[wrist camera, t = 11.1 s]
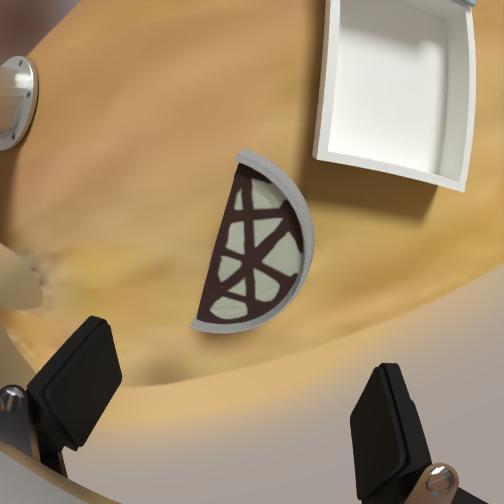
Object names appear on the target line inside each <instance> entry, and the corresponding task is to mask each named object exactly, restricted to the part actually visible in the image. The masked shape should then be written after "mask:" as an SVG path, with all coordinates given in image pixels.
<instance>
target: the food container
mask: <svg viewBox="0 0 504 504" xmlns="http://www.w3.org/2000/svg"><path fill="white" fill-rule="evenodd" d="M235 161H237V162H239V164H238V167H237V170H236V173H235V175H234V181H233V185H232V189H231V192H230V195H229V199H228V202H227V205H226V209H225V212H224V216H223V219H222V223H221V226H220V230H219V233H218V236H217V240H216V243H215V247H214V250H213V254H212V258H211V262H210V266H209V270H208V274H207V278H206V281H205V285H204V289H203V293H202V297H201V301H200V305H199V309H198V311H197V314H196V316H195V318H194V320H193V322H192V324H191V326H190V328H192V329H196V330H199V331H203V332H210V333H235V332H242V331H246V330H249V329H253V328H255V327H258V326H260V325H262V324H264V323H266V322H268V321H269V320H271V319H272V318H274V317H275V316H277V315H278V314H279V313H280V312H281V311H283V310H284V309H285V308H286V307H287V306H288V305H289V304H290V303H291V302H292V300H293V299H294V298H295V297H296V295H297V294H298V292H299V291H300V289H301V287H302V285H303V283H304V281H305V279H306V276H307V274H308V271H309V268H310V265H311V262H312V259H313V252H314V227H313V222H312V218H311V214H310V211H309V209H308V206H307V203H306V201H305V199H304V197H303V195H302V194H301V192H300V191H299V189H298V187H297V186H296V184H295V183H294V182H293V181H292V180H291V179H290V177H289V176H288V175H287V174H286V173H285V172H284V171H283V170H282V169H280V168H279V167H278V166H277V165H276V164H274V163H273V162H272V161H270V160H268V159H267V158H265V157H263V156H262V155H260V154H258V153H256V152H253V151H251V150H248V149H245V148H243V149H242V150H241V152H240V153H239V154H238V157H237V158H236V159H235Z"/></svg>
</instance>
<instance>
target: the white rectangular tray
mask: <svg viewBox="0 0 504 504" xmlns="http://www.w3.org/2000/svg"><path fill="white" fill-rule="evenodd" d="M475 98H476V59H475V41H474V30H473V20H472V13H471V6H470V5H468V4H466V3H464V2H462V1H460V0H326V3H325V21H324V37H323V50H322V63H321V75H320V86H319V96H318V106H317V115H316V124H315V133H314V142H313V150H312V156H313V157H314V158H315V159H316V160H322V161H328V162H334V163H340V164H346V165H351V166H357V167H362V168H367V169H372V170H377V171H381V172H386V173H391V174H395V175H399V176H404V177H408V178H412V179H416V180H420V181H424V182H428V183H432V184H435V185H439V186H443V187H446V188H450V189H453V190H457V191H460V192H464V190H465V185H466V180H467V174H468V168H469V161H470V155H471V147H472V138H473V129H474V116H475Z"/></svg>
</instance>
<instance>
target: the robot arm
mask: <svg viewBox="0 0 504 504" xmlns="http://www.w3.org/2000/svg"><path fill="white" fill-rule="evenodd" d="M37 94H38V78H37V72H36V68H35V66H34V64H33V62H32V61H31V60H30V59H29V58H26V57H20V56H16V57H13V58H11V59H9V60H7V61H6V62H5V63H4V64H3V65H2V66H1V67H0V150H7V149H11V148H13V147H14V146H16V145H17V144H18V143H19V142H20V141H21V139H22V138H23V137H24V135H25V133H26V131H27V130H28V127H29V125H30V123H31V120H32V117H33V114H34V111H35V106H36V102H37ZM121 381H122V373H121V369H120V365H119V361H118V358H117V353H116V349H115V345H114V341H113V336H112V331H111V327H110V325H109V324H108V323H107V321H106V320H105V319H102V318H99V317H95V316H90V317H88V319H87V320H86V321H85V322H84V323H83V324H82V325H81V326H80V327H79V328H78V329H77V330H76V331H75V332H74V333H73V334H72V335H71V336H70V338H69V339H68V340H67V341H66V342H65V343H64V344H63V345H62V346H61V347H60V348H59V350H58V351H57V352H56V353H55V354H54V355H53V356H52V357H51V358H50V360H49V361H48V362H47V363H46V364H45V365H44V366H43V368H42V369H41V370H40V371H39V372H38V373H37V374H36V376H35V377H34V378H33V379H32V380H31V381H30V383H29V384H28V385H27V390H26V391H25V390H24V389H23V388H22V387H21V386H18V385H7V386H5V387H3V388H1V389H0V504H121V503H118V502H116V501H113V500H111V499H109V498H106V497H104V496H102V495H100V494H98V493H95V492H93V491H91V490H89V489H87V488H85V487H83V486H81V485H79V484H77V483H75V482H73V481H71V480H70V479H68V476H67V472H66V468H65V464H64V460H63V455H62V449H63V447H64V446H66V447H68V448H70V449H72V450H74V451H77V449H78V447H82V446H83V445H84V444H85V442H86V440H87V439H88V437H89V435H90V434H91V432H92V430H93V428H94V427H95V425H96V423H97V422H98V420H99V418H100V416H101V415H102V413H103V412H104V410H105V408H106V406H107V405H108V403H109V402H110V400H111V398H112V397H113V395H114V393H115V392H116V390H117V389H118V387H119V385H120V384H121ZM350 427H351V436H352V444H353V454H354V465H355V476H356V489H357V498H358V500H362V504H488V503H486V502H484V501H482V500H481V499H479V498H477V497H475V496H473V495H472V494H470V493H468V492H466V491H464V490H463V489H461V488H459V487H458V485H459V478H458V475H457V472H456V471H455V470H454V469H453V468H452V467H451V466H449V465H447V464H445V463H435V464H432V461H431V457H430V453H429V449H428V446H427V442H426V439H425V436H424V432H423V429H422V425H421V422H420V419H419V416H418V413H417V410H416V407H415V404H414V402H413V401H412V400H411V399H410V396H409V393H408V390H407V387H406V384H405V381H404V379H403V376H402V373H401V370H400V367H399V365H398V364H397V363H381V364H380V365H379V367H375V368H374V370H373V372H372V374H371V376H370V378H369V380H368V383H367V385H366V387H365V389H364V391H363V392H362V394H361V396H360V398H359V400H358V402H357V404H356V406H355V408H354V410H353V411H352V413H351V416H350Z"/></svg>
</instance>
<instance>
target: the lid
mask: <svg viewBox="0 0 504 504" xmlns="http://www.w3.org/2000/svg"><path fill="white" fill-rule="evenodd" d="M460 1H462V2H464V3H466V4H468V5H470V6H472V7H473V6H475V5H476V4H475V0H460Z"/></svg>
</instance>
